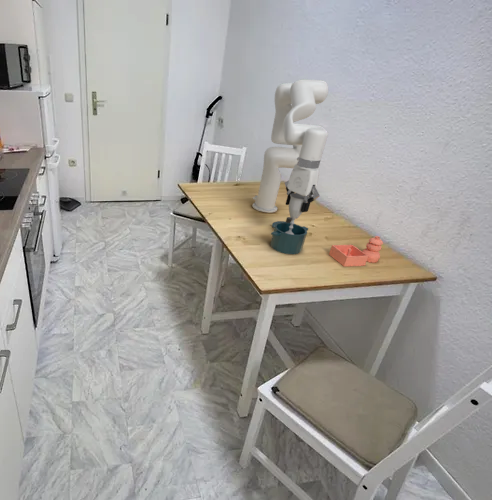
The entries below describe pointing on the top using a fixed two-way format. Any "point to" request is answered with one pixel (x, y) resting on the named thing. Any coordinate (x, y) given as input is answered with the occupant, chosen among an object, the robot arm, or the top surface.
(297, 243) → the pot
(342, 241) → the top surface
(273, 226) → the lid
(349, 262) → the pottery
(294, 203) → the chalice
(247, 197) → the top surface
